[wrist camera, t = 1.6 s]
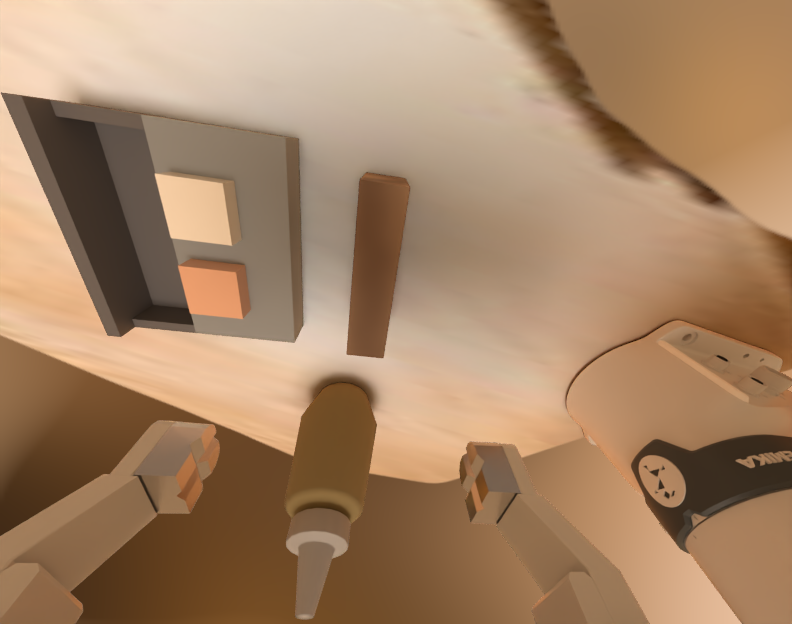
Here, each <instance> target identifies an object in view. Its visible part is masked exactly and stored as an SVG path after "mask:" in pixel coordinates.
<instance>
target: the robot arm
mask: <svg viewBox="0 0 792 624" xmlns="http://www.w3.org/2000/svg"><path fill="white" fill-rule="evenodd" d="M782 363H783V360H782V359H781V358H780V357H778V356H777V355H775V354H774V353H772V352H769V351H767V350H764V349H761V348H758V347H755V346H752V345H750V344H747V343H744V342H741V341H738V340H735V339H733V338H730V337H727V336H724V335H721V334H718V333H715V332H713V331H710V330H707V329H704V328H701V327H698V326H696V325H693V324H690V323H687V322H684V321H680V320H676V321H672V322H669V323H667V324H665V325H664V326H662V327H660V328H659V329H657V330H656V331H654V332H652V333H651V334H649V335H648V336H646V337H644V338H642V339H640V340H637V341H634V342H631V343H628V344H625V345H623V346H620V347H618V348H616V349H614V350H612V351H610V352H608V353H606V354H604V355H602V356H601V357H599V358H598V359H596V360H595V361H594V362H592V363H591V364H590V365H589V366H587V367H586V368H585V369H584V370H583V371H582V372H581V373H580V374H579V376H578V377H577V378H576V379H575V381H574V382H573V384H572V386H571V387H570V390H569V392H568V395H567V401H566V404H567V410H568V412H569V414H570V416H571V417H572V418H573V419H574V420H575V421H576V422H577V423H578V424H579V425H580V426H581V427H582V428H583V433H584V436H585V438H586V439H587V440H588V441H589V442H590V443H591V444H592V445H597V446H598V447H599V448H600V449H601V451H602V452H603V453H604V454H605V455H606V456H607V458H608V459H609V460H610V461H611V463H612V464H613V465H614V466H615V467H616V468H617V470H618V471H619V472H620V473H621V475H622V476H623V477H624V478H625V479H626V480H627V482H628V483H629V484H630V485H631V486H632V487H633V489H634V490H635V491H636V492H637V493H638V494H640V495H642V496H644V497H645V501H646V504H647V505H648V507H649V508H650V509H651V511H652V512H653V513H654V515H655V516H656V518H657V519H658V521H659V522H660V523H659V524H660V525H661V526H662V528H663V529H664V531H665V532H666V533H667V534H669V535H670V536H671V538H672V539H673V540H674V541H675V543H676V544H677V545H678V546H679V548H680V549H681V550H683V551H685V552H687V553H689V554H691V556H692V557H693V558H694V560H695V561H696V562H697V564H698V565H699V566H700V568H701V569H702V571H703V572H704V573H705V574H706V576H707V577H708V579H709V580H710V581H711V583H712V584H713V585H714V587H715V588H716V589H717V591H718V592H719V593H720V595H721V596H722V598H723V599H724V600H725V602H726V603H727V604H728V606H729V607H730V608H731V609H732V611H733V612H734V614H735V615H736V616H737V618H738V619H739V620H740V622H741V623H742V624H792V392H790V391H789V390H787V389H788V388H790V387H791V386H792V379H791V378H790V377H788V376H786V375H784V374H783V373H781V372H780V369H781V366H782ZM215 433H216V429H215V426H214V425H210V424H198V423H185V422H176V421H161V420H158V421H157V422H155V423H154V424H152V425H151V426H150V427H149V428H148V430H147V431H146V432H145V433H144V434H143V436H142V437H141V438H140V439H139V440H138V441H137V443H136V444H135V445H134V446H133V447H132V449H131V450H130V451H129V452H128V453H127V455H126V456H125V457H124V458H123V459H122V460H121V462H120V463H119V464H118V465H117V466H116V468H115V469H114V470H113V471H112V472H111V473H110V474H109V475H108V474H103V475H102V476H100V477H98V478H97V479H95V480H93V481H92V482H90V483H88V484H87V485H85V486H83V487H82V488H80V489H78V490H77V491H75V492H73V493H72V494H70V495H68V496H67V497H65V498H63V499H62V500H60V501H58V502H57V503H55V504H53V505H52V506H50V507H48V508H47V509H45V510H43V511H42V512H40V513H38V514H37V515H35V516H33V517H32V518H30V519H28V520H27V521H25V522H23V523H22V524H20V525H18V526H17V527H15V528H13V529H12V530H10V531H9V532H7V533H5V534H3V535H2V536H0V624H75V623H76V622H77V620H78V618H79V617H80V615H81V613H82V612H83V605H82V603H81V602H79V601H78V600H77V599H76V598H75V597H74V596H73V595H72V594H71V593H70V591H72V590H73V589H74V588H75V587H76V586H77V585H78V584H80V583H81V582H82V581H83V580H84V579H85V578H86V577H88V576H89V575H90V574H91V573H92V572H93V571H94V570H95V569H97V568H98V567H99V566H100V565H101V564H102V563H103V562H105V561H106V560H107V559H108V558H109V557H110V556H111V555H113V554H114V553H115V552H116V551H117V550H118V549H119V548H120V547H122V546H123V545H124V544H125V543H126V542H127V541H128V540H130V539H131V538H132V537H133V536H134V535H135V534H136V533H137V532H139V531H140V530H141V529H142V528H143V527H144V526H145V525H146V524H148V523H149V522H150V521H151V520H152V519H153V518H155V517H156V516H157V514H156V513H188V514H190V512H191V511H192V509H193V507H194V505H195V503H196V501H197V499H198V497H199V496H200V494H201V491H202V490H203V486H202V480H203V479H205V478H206V477H207V476H209V475H210V474H211V473H212V471H213V469H214V467H215V465H216V463H217V459H218V456H219V450H220V446H219V441H218V440H216V439H215V438H214V435H215ZM466 450H467V454H465V455H464V456H462V459H461V461H460V470H459V471H460V479H461V484H462V486H463V488H464V489H465V490H466V491H467V493H468V495H467V497H466V500H465V501H466V505H467V509H468V514H469V518H470V522H471V523H475V524H490V525H491V524H492V525H497V526H496V527H497V528H498V530H499V531H500V532H501V534H502V535H503V537H504V538H505V540H506V541H507V542H508V544H509V545H510V547H511V548H512V549H513V551H514V552H515V554H516V555H517V556H518V558H519V559H520V561H521V562H522V563H523V565H524V566H525V568H526V569H527V570H528V572H529V573H530V575H531V576H532V578H533V579H534V580H535V582H536V583H537V584H538V586H539V587H540V589H541V590H542V592H543V593H544V594H545V595H544V596H543V597H542V598H541V599H540V600H539V601H538V602H537V603H536V604H535V605H534V606H533V609H532V613H533V616H534V620H535V622H536V624H650V623H649V622H648V620H647V618H646V616H645V615H644V613H643V611H642V609H641V607H640V605H639V604H638V602H637V600H636V598H635V597H634V595H633V593H632V591H631V589H630V588H629V586H628V584H627V582H626V580H625V579H624V577H623V575H622V574H621V572H620V570H619V569H618V568H617V567H616V566H615V565H613V564H612V563H611V562H610V561H609V560H608V559H607V558H606V557H605V556H604V555H603V554H602V553H601V552H600V551H599V550H598V549H597V548H596V547H595V546H594V545H593V544H592V543H591V542H590V541H589V540H588V539H587V538H586V537H585V536H584V535H583V534H582V533H581V532H580V531H579V530H578V529H577V528H576V527H575V526H573V524H572V523H570V521H568V520H567V519H566V518H565V517H564V516H563V515H562V514H561V513H560V512H559V511H558V510H557V509H556V508H555V507H554V506H553V505H552V504H551V503H550V502H549V501H548V500H547V499H546V498H545V497H544V496H543V495H538V493H537V491H536V489H535V487H534V485H533V482H532V480H531V478H530V476H529V473H528V472H527V469H526V467H525V465H524V463H523V460H522V458H521V456H520V454H519V452H518V449H517V447H516V446H515V445H513V444H498V443H490V442H469V443H468V445H467V447H466Z"/></svg>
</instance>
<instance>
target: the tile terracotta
mask: <svg viewBox="0 0 792 624" xmlns="http://www.w3.org/2000/svg"><path fill="white" fill-rule="evenodd" d="M178 268H179V272H180V276H181V280H182V284H183V288H184V292H185V296H186V300H187V304H188V307H189V311H190V314H199V315H209V316H218V317H228V318H237V319H243V318H244V317H245V316H246V315H247V314H248V313H249V311H250V310H251V307H250V299H249V292H248V284H247V276H246V269H245V265H239V264H231V263H223V262H215V261H206V260H198V259H189V260H187V261H185V262H184V263H182V264H180V265H178Z"/></svg>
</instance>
